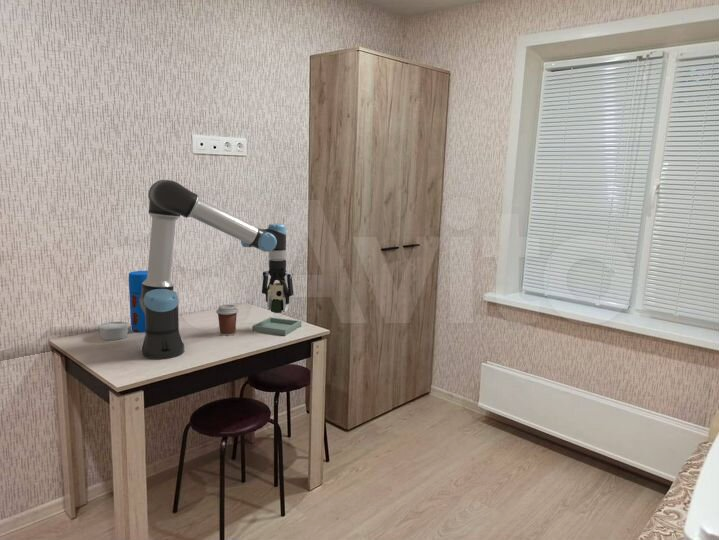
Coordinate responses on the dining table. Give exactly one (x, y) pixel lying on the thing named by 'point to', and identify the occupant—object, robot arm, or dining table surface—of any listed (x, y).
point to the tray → (276, 326)
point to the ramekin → (114, 330)
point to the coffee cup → (227, 319)
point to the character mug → (276, 297)
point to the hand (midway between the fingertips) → (277, 310)
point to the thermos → (136, 300)
